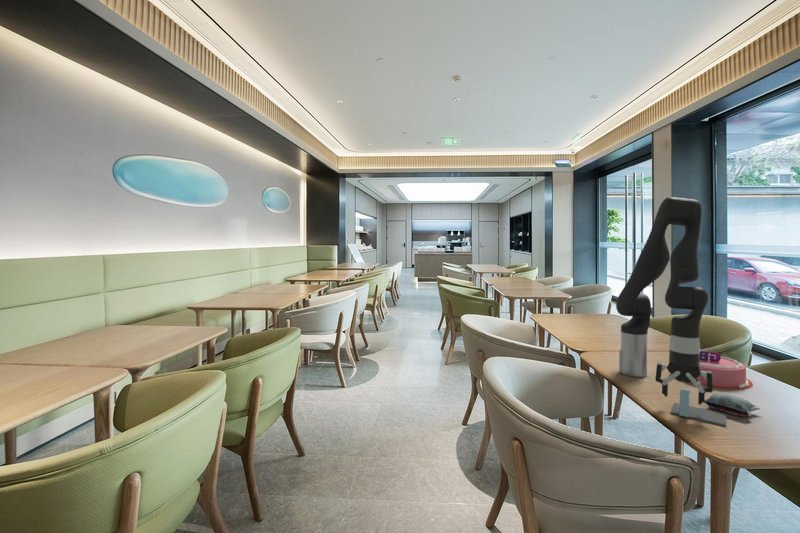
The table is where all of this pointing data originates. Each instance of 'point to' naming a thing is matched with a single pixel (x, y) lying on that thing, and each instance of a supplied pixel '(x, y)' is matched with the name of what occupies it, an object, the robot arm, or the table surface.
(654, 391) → the table surface
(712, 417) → the mat
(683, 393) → the block
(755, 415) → the table surface
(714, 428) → the table surface
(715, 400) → the packaged food
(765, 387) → the table surface
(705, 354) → the cake
